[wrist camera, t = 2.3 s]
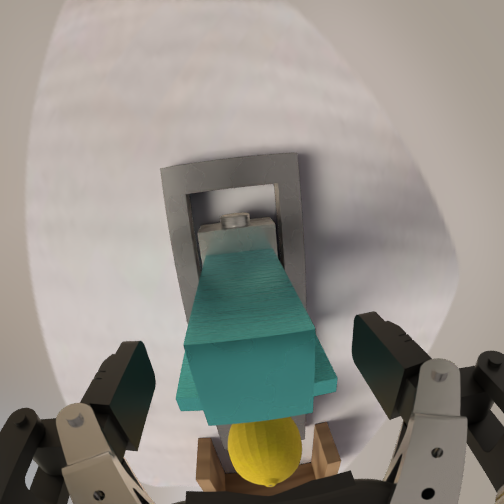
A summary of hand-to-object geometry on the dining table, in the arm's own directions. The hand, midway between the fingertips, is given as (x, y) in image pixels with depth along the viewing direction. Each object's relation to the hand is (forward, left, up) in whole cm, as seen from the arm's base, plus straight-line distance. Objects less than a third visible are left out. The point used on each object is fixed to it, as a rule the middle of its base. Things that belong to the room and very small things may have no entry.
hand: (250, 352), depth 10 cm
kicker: (0, 0, -8) cm, 8 cm away
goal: (+21, 0, -8) cm, 22 cm away
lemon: (+13, 0, -8) cm, 15 cm away
